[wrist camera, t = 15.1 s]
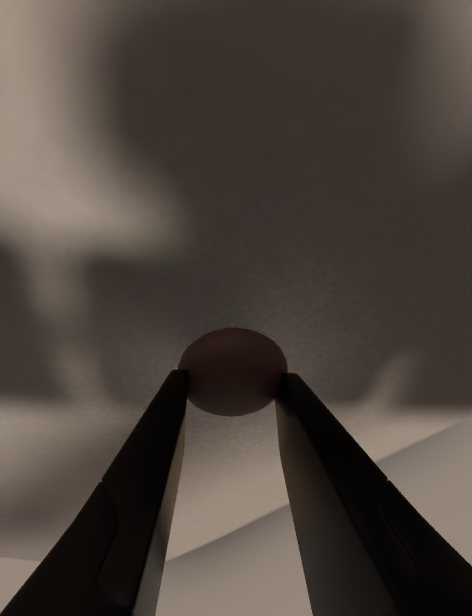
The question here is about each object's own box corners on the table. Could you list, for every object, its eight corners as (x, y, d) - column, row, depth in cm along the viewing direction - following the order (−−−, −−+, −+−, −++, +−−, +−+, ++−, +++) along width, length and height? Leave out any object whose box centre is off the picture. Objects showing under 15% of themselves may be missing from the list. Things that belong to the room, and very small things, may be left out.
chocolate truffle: (236, 293, 9) (241, 332, 8) (302, 354, 10) (316, 396, 9) (156, 353, 10) (149, 397, 9) (227, 402, 11) (229, 445, 10)
